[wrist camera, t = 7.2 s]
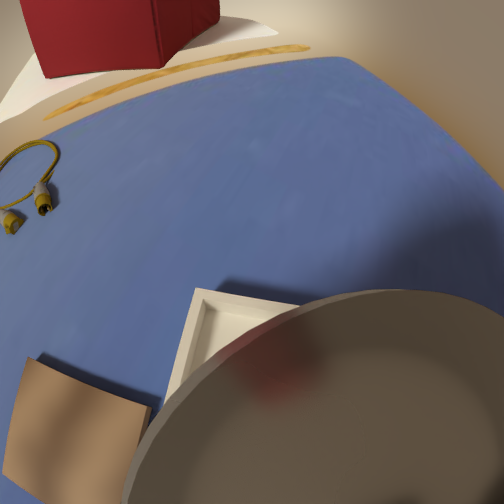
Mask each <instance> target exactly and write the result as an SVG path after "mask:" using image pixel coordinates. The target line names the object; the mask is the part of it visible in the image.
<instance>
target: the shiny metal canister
mask: <svg viewBox="0 0 504 504" xmlns="http://www.w3.org/2000/svg"><path fill="white" fill-rule="evenodd" d="M121 504H504V317H502V316H500V315H499V314H497V313H495V312H494V311H492V310H490V309H489V308H487V307H485V306H482V305H480V304H478V303H475V302H473V301H470V300H468V299H465V298H461V297H458V296H454V295H450V294H446V293H441V292H432V291H423V290H402V289H380V290H365V291H358V292H351V293H344V294H339V295H335V296H331V297H328V298H324V299H320V300H316V301H312V302H309V303H307V304H304V305H302V306H299V307H297V308H294V309H291V310H289V311H286V312H284V313H281V314H279V315H277V316H275V317H273V318H271V319H269V320H267V321H266V322H264V323H262V324H260V325H258V326H256V327H254V328H252V329H250V330H248V331H247V332H245V333H244V334H242V335H241V336H239V337H238V338H236V339H235V340H234V341H232V342H231V343H229V344H228V345H226V346H225V347H223V348H222V349H220V350H219V351H218V352H216V353H215V354H214V355H213V356H212V357H211V358H209V359H208V360H207V361H206V362H205V363H203V364H202V365H201V366H200V367H199V368H198V369H196V370H195V371H194V372H193V373H192V374H191V375H190V376H189V377H188V378H187V379H186V380H185V381H184V382H183V383H182V385H181V386H180V387H179V388H178V389H177V390H176V391H175V392H174V393H173V394H172V395H171V396H170V397H169V399H168V400H167V401H166V403H165V404H164V405H163V407H162V408H161V410H160V411H159V412H158V414H157V415H156V417H155V418H154V419H153V421H152V422H151V424H150V425H149V427H148V428H147V430H146V432H145V434H144V436H143V438H142V440H141V442H140V444H139V446H138V448H137V450H136V452H135V454H134V456H133V459H132V462H131V465H130V468H129V471H128V474H127V477H126V480H125V483H124V488H123V494H122V501H121Z"/></svg>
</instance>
